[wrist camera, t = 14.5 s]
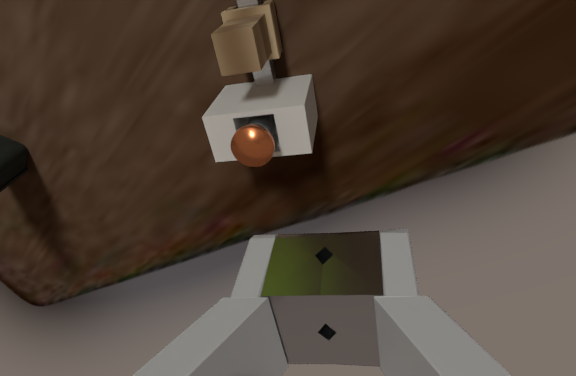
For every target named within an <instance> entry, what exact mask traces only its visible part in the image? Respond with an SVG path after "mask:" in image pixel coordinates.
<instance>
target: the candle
mask: <svg viewBox="0 0 576 376" xmlns="http://www.w3.org/2000/svg"><path fill="white" fill-rule="evenodd" d="M27 155H28V150H27V148H26V147H25V146H24V145H22V144H20V143H18V142H16V141H13V140H11V139H8V138H6V137H3V136H1V135H0V192H1V191H2V190H4V189H5V188H6V187H7V186H9V185H10V184H11V183H13V182H14V181H15V180H16V179H18V178H19V177H20V176H22V175H23V174H24V173H25V172H27V170H28V168H27Z"/></svg>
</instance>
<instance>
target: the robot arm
mask: <svg viewBox="0 0 576 376" xmlns="http://www.w3.org/2000/svg"><path fill="white" fill-rule="evenodd" d="M380 247H381V249H380ZM381 261H382V262H381ZM288 364H342V365H343V364H344V365H361V366H379V367H381V370H382V372H383V373H384V375H385V376H512V375H511V374H510V373H509V372H508V371H507V370H506V369H505V368H504V367H503V366H501V365H500V364H499V363H498V362H497V361H496V360H495V359H494V358H493V357H492V356H491V355H490V354H489V353H488V352H487V351H486V350H485V349H484V348H483V347H482V346H481V345H480V344H478V343H477V342H476V341H475V340H474V339H473V338H472V337H471V336H470V335H469V334H468V333H467V332H466V331H465V330H464V329H463V328H462V327H461V326H459V325H458V323H456V322H455V321H454V320H453V319H452V318H451V317H450V316H449V315H448V314H447V313H446V312H445V311H444V310H443V309H442V308H441V307H440V306H439V305H438V304H436V302H434V301H433V300H432V299H431V298H430V297H429V296H419V291H418V284H417V278H416V272H415V266H414V259H413V254H412V247H411V241H410V235H409V231H408V230H407V228H405V229H404V228H403V229H388V230H380V236H379V231H364V232H344V233H314V234H278V235H254V236H253V237H252V238H251V239H250V240H249V243H248V246H247V249H246V252H245V255H244V258H243V261H242V264H241V267H240V270H239V273H238V276H237V279H236V281H235V284H234V287H233V291H232V293H231V296H230V298H222V299H221V300H220V301H218V302H217V303H216V304H215V305H214V306H212V307H211V308H210V309H209V310H208V311H207V312H206V313H204V314H203V315H202V316H201V317H200V318H199V319H197V320H196V321H195V322H194V323H193V324H192V325H190V326H189V327H188V328H187V329H186V330H185V331H184V332H182V333H181V334H180V335H179V336H178V337H177V338H175V339H174V340H173V341H172V342H171V343H170V344H169V345H167V346H166V347H165V348H164V349H163V350H161V351H160V352H159V353H158V354H157V355H156V356H155V357H153V358H152V359H151V360H150V361H149V362H147V364H145V365H144V366H143V367H142V368H141V369H139V370H138V371H137V372H136V373H135V374H134V375H132V376H282V375H283V374H284V372H285V371H286V370H287V368H288Z"/></svg>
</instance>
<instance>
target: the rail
mask: <svg viewBox="0 0 576 376" xmlns="http://www.w3.org/2000/svg"><path fill="white" fill-rule="evenodd" d="M237 4H238V8H244V7H250V6H256V5H262V0H237ZM253 76H254V81H255V85H256V87H261V86H268V85H274V83H275V81H276V79H277V78H276V73H275V68H274V63H273V59H272V60H267V62H266V63H265V65H264V67H263V68H262V70H261V71H256V72H253Z"/></svg>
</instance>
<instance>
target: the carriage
mask: <svg viewBox="0 0 576 376" xmlns="http://www.w3.org/2000/svg"><path fill="white" fill-rule="evenodd" d="M221 16H222V20H223V25H222V26H220V27H219V28H218V29H217V30H215V31H214V32H213V33H212V34H211V37H212V40H213V44H214V48H215V52H216V56H217V59H218V63H219V67H220V71H221V75H222V76H227V75H234V74H241V73H249V72H256V71H261V70H262V68H263V67H264V65H265V63H266V62H267V60H272V59H279V58H280V56H281V55H280V54H281V52H282V44H281V39H280V33H279V27H278V22H277V16H276V10H275V5H274V0H268V1H265V2H264V3H263V4H262V5H256V6H250V7H244V8H238V7H237V6H233V7H229V8H228V9H226V10H225V11H223V12H222V13H221Z"/></svg>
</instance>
